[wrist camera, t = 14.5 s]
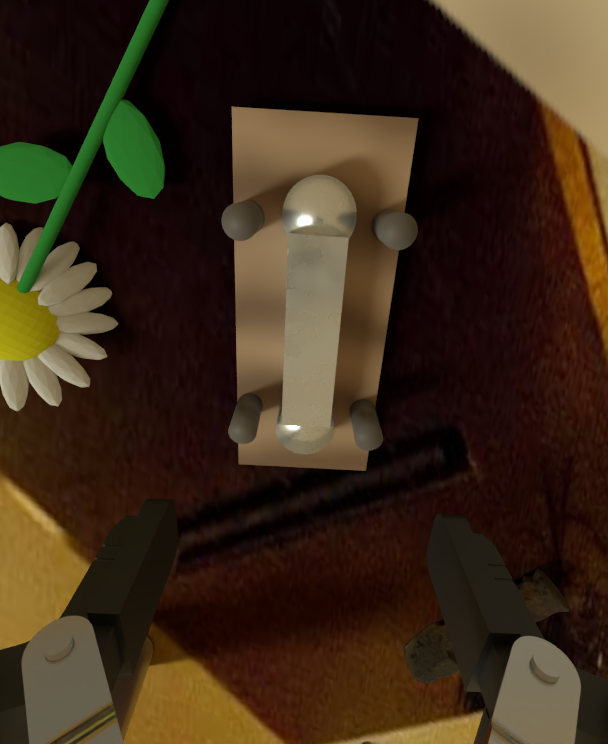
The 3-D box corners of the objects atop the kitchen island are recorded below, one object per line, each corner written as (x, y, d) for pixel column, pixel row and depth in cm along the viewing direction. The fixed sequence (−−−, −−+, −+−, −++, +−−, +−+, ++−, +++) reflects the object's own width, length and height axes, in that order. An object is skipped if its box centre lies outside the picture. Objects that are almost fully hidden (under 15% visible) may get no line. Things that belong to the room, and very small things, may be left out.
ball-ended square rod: (356, 177, 25) (362, 176, 22) (330, 437, 33) (332, 463, 30) (285, 173, 25) (282, 171, 22) (277, 434, 33) (274, 460, 30)
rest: (363, 459, 36) (372, 504, 31) (241, 453, 36) (230, 496, 31) (412, 121, 25) (438, 105, 20) (236, 111, 25) (217, 92, 20)
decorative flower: (88, -104, 22) (-88, 332, 29) (46, -186, 18) (-151, 352, 25) (277, 58, 26) (81, 412, 33) (282, 24, 22) (53, 442, 28)
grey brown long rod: (536, 560, 41) (561, 602, 37) (554, 580, 43) (581, 623, 38) (389, 633, 47) (396, 677, 43) (408, 649, 48) (418, 693, 44)
